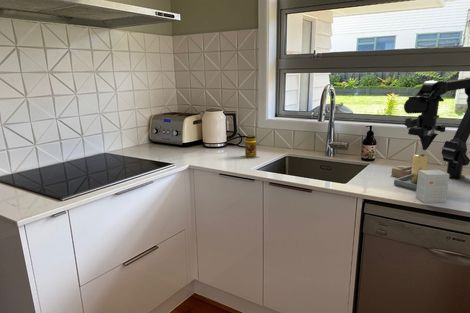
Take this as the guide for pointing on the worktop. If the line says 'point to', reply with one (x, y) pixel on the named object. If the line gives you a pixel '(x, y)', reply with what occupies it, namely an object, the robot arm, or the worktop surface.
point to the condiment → (250, 147)
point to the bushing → (418, 166)
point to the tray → (405, 182)
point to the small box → (432, 186)
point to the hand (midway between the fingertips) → (424, 150)
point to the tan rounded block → (401, 171)
